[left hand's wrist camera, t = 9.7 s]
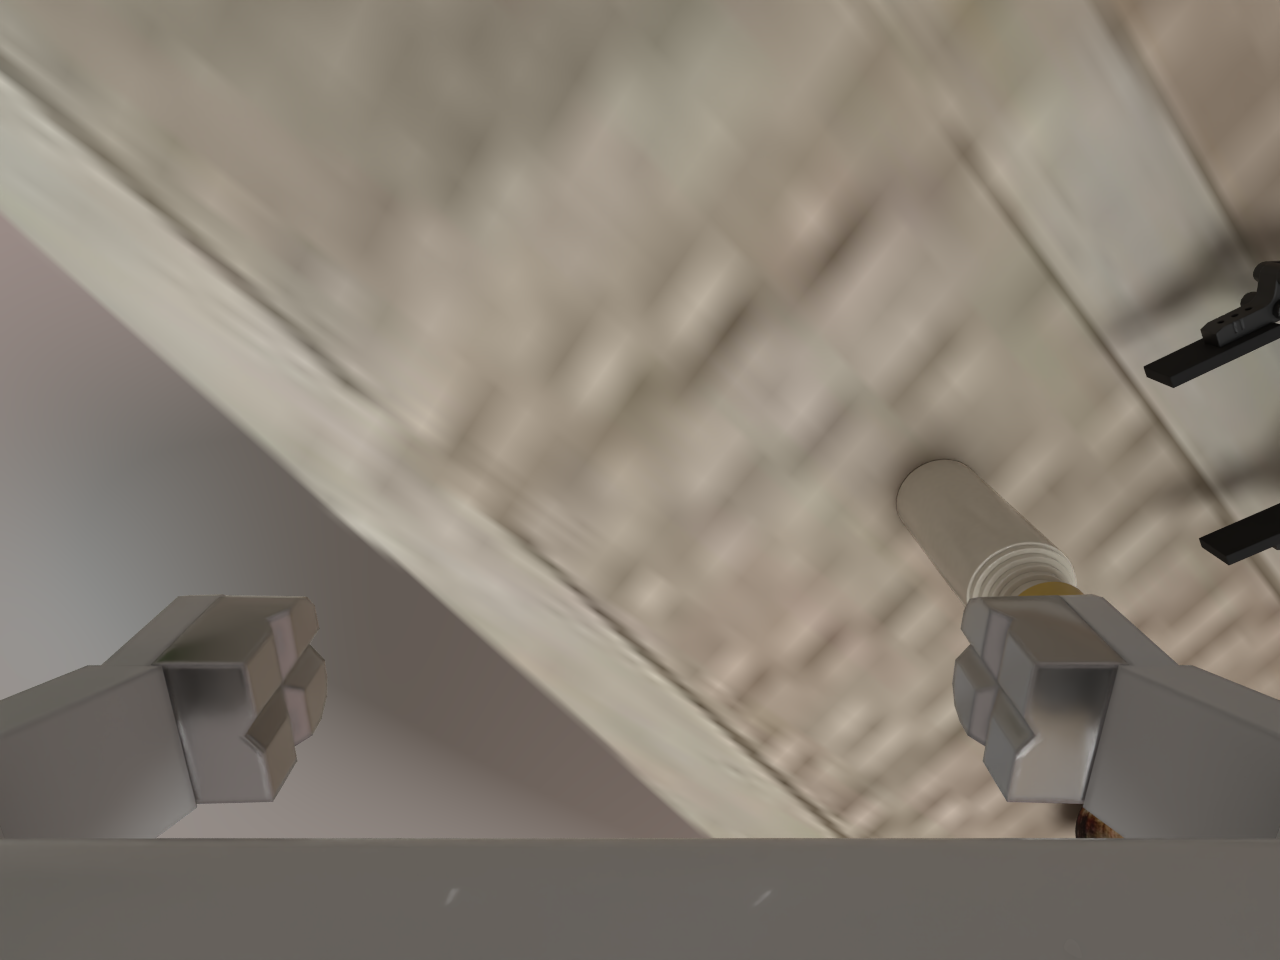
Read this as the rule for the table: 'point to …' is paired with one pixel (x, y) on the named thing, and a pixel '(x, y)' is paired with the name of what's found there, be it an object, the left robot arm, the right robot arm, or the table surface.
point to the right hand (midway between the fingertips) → (1186, 468)
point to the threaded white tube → (976, 534)
